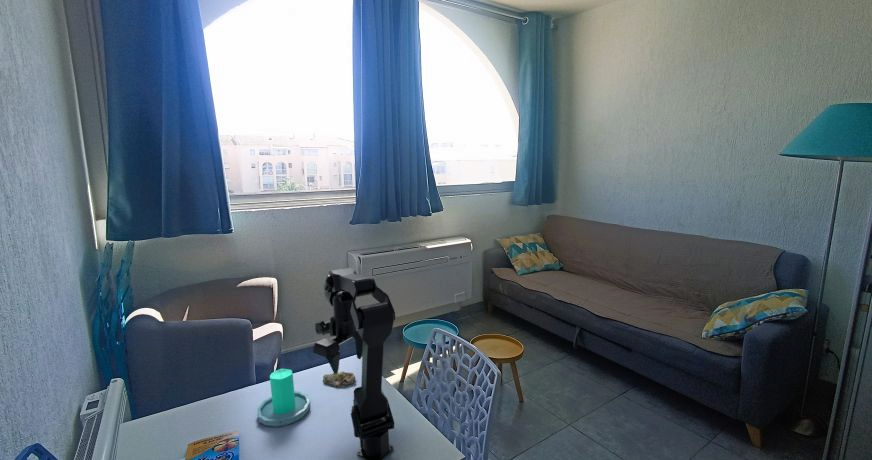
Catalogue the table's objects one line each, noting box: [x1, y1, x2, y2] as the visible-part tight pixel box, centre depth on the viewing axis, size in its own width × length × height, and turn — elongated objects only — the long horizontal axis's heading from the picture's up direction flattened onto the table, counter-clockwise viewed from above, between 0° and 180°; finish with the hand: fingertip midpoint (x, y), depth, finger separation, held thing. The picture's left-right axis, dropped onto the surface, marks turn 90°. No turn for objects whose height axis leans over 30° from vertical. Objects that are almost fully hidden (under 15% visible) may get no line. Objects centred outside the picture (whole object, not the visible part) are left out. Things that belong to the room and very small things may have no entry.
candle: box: [269, 368, 296, 414], centre depth 112 cm, size 6×6×12 cm
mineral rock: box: [322, 371, 356, 388], centre depth 128 cm, size 11×4×8 cm
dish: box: [256, 390, 311, 427], centre depth 113 cm, size 14×14×2 cm
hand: (347, 365), depth 112 cm, fingers open, 9 cm apart
